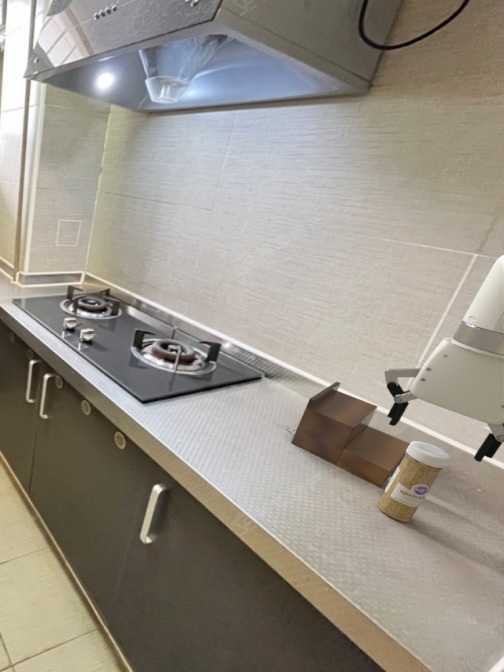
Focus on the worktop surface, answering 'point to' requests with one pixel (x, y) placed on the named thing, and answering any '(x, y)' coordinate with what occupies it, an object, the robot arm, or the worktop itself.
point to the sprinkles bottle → (412, 480)
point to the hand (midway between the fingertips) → (433, 439)
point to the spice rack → (348, 436)
